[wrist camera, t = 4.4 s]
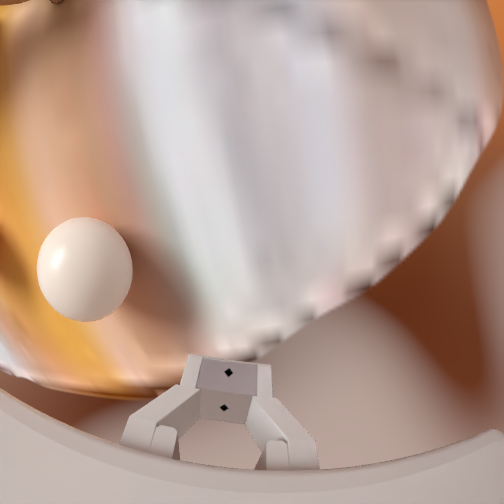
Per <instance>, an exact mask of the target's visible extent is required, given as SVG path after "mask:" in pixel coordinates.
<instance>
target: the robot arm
mask: <svg viewBox="0 0 504 504" xmlns="http://www.w3.org/2000/svg"><path fill="white" fill-rule="evenodd" d="M271 368H272V367H271V365H270V364H259V363H257V364H256V363H249V362H240V361H232V360H224V359H219V358H213V357H207V356H201V355H196V354H191V353H190V354H189V355H188V358H187V362H186V365H185V369H184V372H183V376H182V379H181V383H180V385H174V386H173V387H172V388H170V389H169V390H167V391H166V392H164V393H163V394H162V395H160V396H159V397H157V398H156V399H154V400H153V401H151V402H150V403H148V404H147V405H145V406H144V407H142V408H141V409H139V410H138V411H137V412H135V413H133V414H132V415H130V417H129V419H128V422H127V425H126V427H125V430H124V433H123V436H122V438H121V441H120V443H119V444H116V443H113V442H110V441H107V440H104V439H102V438H99V437H96V436H94V435H91V434H88V433H86V432H83V431H81V430H79V429H76V428H74V427H71V426H69V425H67V424H64V423H62V422H60V421H58V420H56V419H54V418H52V417H50V416H48V415H46V414H44V413H42V412H40V411H38V410H36V409H34V408H33V407H31V406H29V405H27V404H26V403H24V402H22V401H20V400H19V399H17V398H15V397H14V396H12V395H10V394H9V393H7V392H6V391H4V390H2V389H1V388H0V504H504V433H502V432H501V431H499V430H496V429H489V430H486V431H484V432H482V433H479V434H477V435H474V436H472V437H469V438H467V439H464V440H462V441H459V442H456V443H453V444H450V445H447V446H444V447H441V448H438V449H435V450H431V451H428V452H424V453H420V454H416V455H413V456H408V457H404V458H400V459H395V460H390V461H385V462H380V463H375V464H368V465H361V466H355V467H346V468H336V469H324V470H320V468H319V461H318V454H317V448H316V441H315V439H314V438H313V437H312V436H311V435H310V434H309V433H308V432H307V431H306V430H305V429H304V427H303V426H302V425H301V424H300V423H299V422H298V421H297V420H296V419H295V418H294V416H293V415H292V414H291V413H290V412H289V411H288V410H287V409H286V407H284V405H283V404H282V403H281V402H280V401H279V400H278V399H277V398H273V384H272V369H271ZM199 418H201V419H208V420H217V421H224V422H231V423H238V424H245V426H246V428H247V430H248V431H249V433H250V434H251V436H252V438H253V439H254V441H255V442H256V444H257V445H258V447H259V449H260V450H261V451H262V454H261V456H260V458H259V461H258V462H257V464H256V467H255V469H254V470H250V469H238V468H227V467H218V466H211V465H204V464H198V463H192V462H186V461H181V460H180V453H179V443H178V439H179V438H180V437H181V436H182V435H183V434H184V433H186V431H188V430H189V428H191V427H192V426H193V425H194V424H195V423H196V422H197V421H198V420H199Z"/></svg>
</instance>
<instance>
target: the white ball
mask: <svg viewBox="0 0 504 504" xmlns="http://www.w3.org/2000/svg"><path fill="white" fill-rule="evenodd" d="M132 274H133V267H132V259H131V255H130V252H129V249H128V247H127V245H126V243H125V241H124V240H123V238H122V237H121V235H120V234H119V233H118V232H117V231H116V230H115V229H114V228H113V227H111V226H110V225H109V224H107V223H105V222H103V221H101V220H98V219H95V218H90V217H78V218H73V219H70V220H67V221H65V222H63V223H61V224H60V225H58V226H57V227H55V228H54V229H53V230H52V231H51V232H50V233H49V235H48V236H47V237H46V239H45V240H44V242H43V244H42V246H41V249H40V252H39V255H38V261H37V277H38V281H39V285H40V288H41V291H42V293H43V295H44V297H45V298H46V300H47V301H48V303H49V304H50V305H51V306H52V307H53V308H54V309H55V310H56V311H57V312H58V313H60V314H61V315H63V316H65V317H67V318H69V319H72V320H75V321H81V322H90V321H96V320H100V319H102V318H104V317H106V316H108V315H110V314H111V313H113V312H114V311H115V310H116V309H117V308H118V307H119V306H120V305H121V304H122V302H123V301H124V299H125V298H126V296H127V294H128V292H129V289H130V286H131V282H132Z"/></svg>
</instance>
